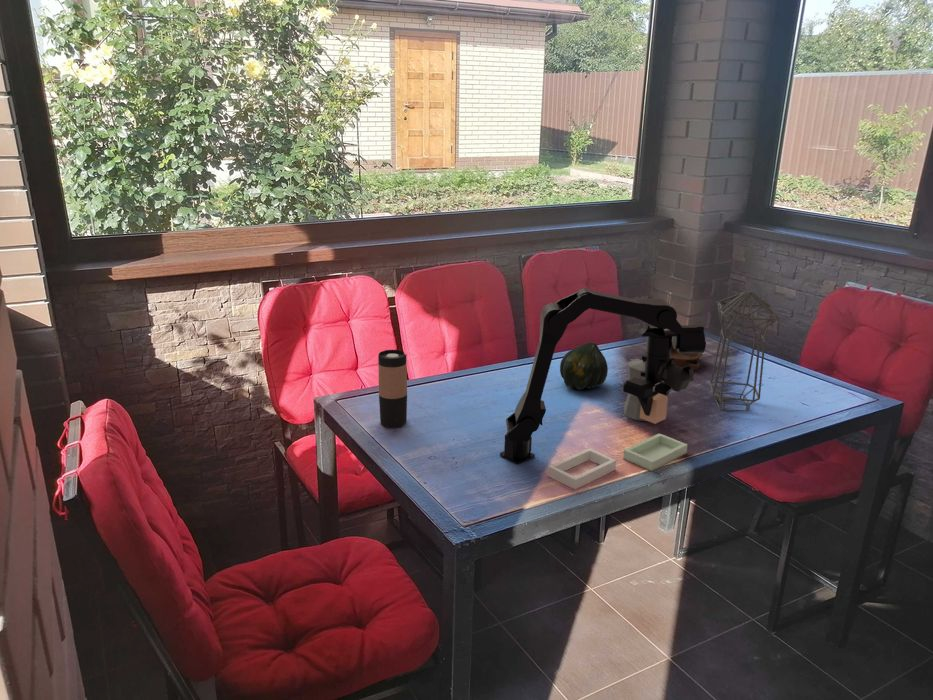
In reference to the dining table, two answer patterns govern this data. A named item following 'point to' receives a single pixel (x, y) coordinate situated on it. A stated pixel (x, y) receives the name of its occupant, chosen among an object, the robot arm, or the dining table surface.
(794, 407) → the dining table surface
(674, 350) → the dish
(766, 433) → the dining table surface
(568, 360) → the squash
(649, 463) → the green bin
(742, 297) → the geometric lantern
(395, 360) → the travel mug
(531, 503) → the dining table surface
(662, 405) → the tan block
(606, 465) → the grey bin
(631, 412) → the coffeepot
